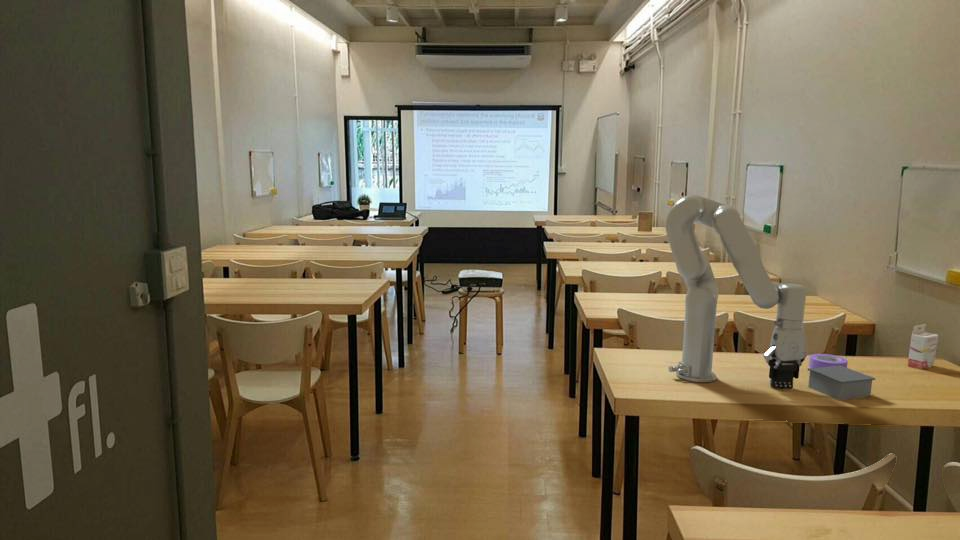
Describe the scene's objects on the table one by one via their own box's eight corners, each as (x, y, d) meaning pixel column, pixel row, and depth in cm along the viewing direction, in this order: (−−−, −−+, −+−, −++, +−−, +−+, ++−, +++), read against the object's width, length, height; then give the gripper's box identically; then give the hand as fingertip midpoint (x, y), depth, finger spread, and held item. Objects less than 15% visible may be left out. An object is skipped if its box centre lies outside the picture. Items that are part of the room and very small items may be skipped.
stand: (839, 401, 192) (841, 381, 191) (805, 386, 205) (807, 368, 204) (872, 397, 196) (875, 378, 195) (837, 383, 208) (839, 365, 207)
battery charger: (773, 389, 201) (777, 354, 199) (768, 385, 204) (772, 351, 203) (795, 390, 201) (799, 355, 199) (790, 386, 204) (794, 351, 202)
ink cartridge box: (922, 370, 224) (927, 329, 221) (906, 366, 228) (912, 325, 225) (934, 366, 228) (940, 326, 225) (919, 362, 232) (924, 323, 230)
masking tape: (802, 363, 229) (803, 353, 229) (834, 363, 230) (835, 353, 229) (820, 374, 218) (821, 363, 217) (854, 374, 218) (855, 363, 218)
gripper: (775, 328, 193) (769, 384, 196) (821, 325, 198) (814, 379, 201) (757, 322, 200) (752, 376, 203) (802, 319, 205) (796, 372, 208)
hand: (783, 377), depth 202 cm, fingers closed on battery charger, 7 cm apart
